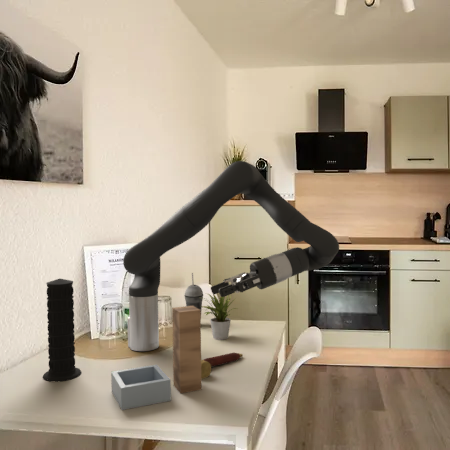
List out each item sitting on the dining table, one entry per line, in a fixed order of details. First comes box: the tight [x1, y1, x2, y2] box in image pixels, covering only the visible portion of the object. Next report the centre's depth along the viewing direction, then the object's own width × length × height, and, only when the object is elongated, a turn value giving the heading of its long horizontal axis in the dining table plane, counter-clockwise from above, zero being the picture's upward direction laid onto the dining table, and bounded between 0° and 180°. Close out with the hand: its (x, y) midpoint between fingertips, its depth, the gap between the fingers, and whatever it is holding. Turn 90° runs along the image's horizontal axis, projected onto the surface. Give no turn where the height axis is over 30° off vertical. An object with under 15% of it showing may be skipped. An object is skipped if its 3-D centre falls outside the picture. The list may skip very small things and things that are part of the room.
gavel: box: [201, 352, 244, 380], centre depth 133 cm, size 21×5×10 cm
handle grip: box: [42, 278, 82, 383], centre depth 127 cm, size 10×26×10 cm
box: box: [110, 364, 172, 411], centre depth 113 cm, size 12×12×5 cm
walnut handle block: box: [171, 305, 202, 394], centre depth 117 cm, size 6×6×20 cm
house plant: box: [201, 292, 238, 341], centre depth 163 cm, size 14×14×16 cm
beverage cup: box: [184, 272, 204, 313], centre depth 178 cm, size 7×7×20 cm
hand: (215, 292), depth 121 cm, fingers open, 8 cm apart
